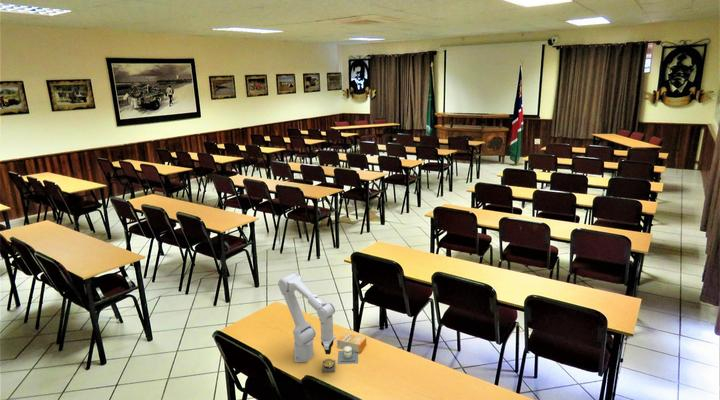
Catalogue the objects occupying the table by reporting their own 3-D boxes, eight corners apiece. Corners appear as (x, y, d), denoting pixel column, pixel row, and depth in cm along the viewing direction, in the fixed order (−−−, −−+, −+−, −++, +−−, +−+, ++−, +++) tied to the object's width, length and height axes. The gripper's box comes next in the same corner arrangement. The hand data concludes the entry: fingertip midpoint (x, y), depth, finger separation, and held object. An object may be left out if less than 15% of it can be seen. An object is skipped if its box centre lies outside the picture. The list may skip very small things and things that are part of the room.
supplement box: (359, 344, 214) (336, 339, 220) (360, 353, 215) (336, 348, 221) (366, 337, 222) (343, 332, 227) (366, 345, 223) (344, 340, 228)
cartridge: (343, 359, 211) (343, 351, 210) (344, 354, 215) (343, 346, 214) (352, 359, 211) (351, 350, 210) (352, 354, 215) (351, 345, 214)
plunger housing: (322, 374, 203) (322, 368, 202) (323, 365, 209) (323, 360, 208) (334, 374, 203) (334, 368, 202) (335, 365, 209) (335, 360, 208)
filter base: (337, 365, 209) (337, 362, 208) (338, 352, 218) (338, 350, 218) (358, 365, 209) (358, 362, 208) (358, 352, 218) (357, 349, 218)
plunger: (323, 372, 203) (323, 365, 202) (324, 365, 208) (323, 358, 207) (333, 372, 203) (333, 365, 202) (334, 365, 208) (334, 358, 207)
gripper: (334, 337, 192) (335, 363, 196) (336, 319, 206) (337, 343, 210) (319, 338, 192) (320, 363, 196) (321, 320, 206) (322, 344, 210)
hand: (328, 353), depth 203 cm, fingers closed
